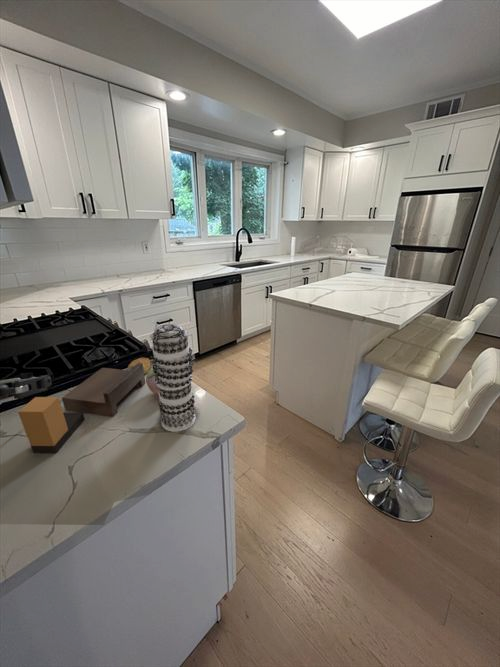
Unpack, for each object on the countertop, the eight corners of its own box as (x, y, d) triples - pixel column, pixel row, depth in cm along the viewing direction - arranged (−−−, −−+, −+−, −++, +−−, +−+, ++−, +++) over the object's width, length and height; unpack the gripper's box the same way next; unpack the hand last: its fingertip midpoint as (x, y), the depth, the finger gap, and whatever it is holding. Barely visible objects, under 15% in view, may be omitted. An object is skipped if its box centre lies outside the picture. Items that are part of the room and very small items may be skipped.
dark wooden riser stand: (65, 410, 73) (58, 387, 70) (104, 378, 88) (100, 359, 85) (113, 416, 71) (108, 393, 68) (145, 383, 85) (142, 363, 83)
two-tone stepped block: (56, 453, 60) (42, 411, 56) (33, 453, 60) (17, 411, 56) (84, 419, 70) (74, 382, 66) (64, 419, 70) (53, 381, 66)
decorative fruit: (166, 382, 86) (162, 353, 82) (185, 389, 82) (182, 360, 79) (141, 397, 79) (135, 366, 75) (161, 406, 75) (157, 374, 71)
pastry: (135, 362, 98) (134, 352, 96) (155, 362, 98) (153, 352, 96) (126, 376, 89) (124, 366, 87) (147, 376, 89) (145, 365, 88)
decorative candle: (199, 429, 67) (192, 334, 57) (159, 436, 65) (145, 338, 55) (196, 406, 75) (189, 319, 66) (160, 411, 73) (148, 322, 63)
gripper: (-19, 370, 36) (60, 358, 52) (-135, 388, 35) (-18, 370, 51) (-9, 427, 36) (67, 397, 52) (-125, 446, 35) (-11, 410, 51)
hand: (25, 384), depth 52 cm, fingers open, 8 cm apart
